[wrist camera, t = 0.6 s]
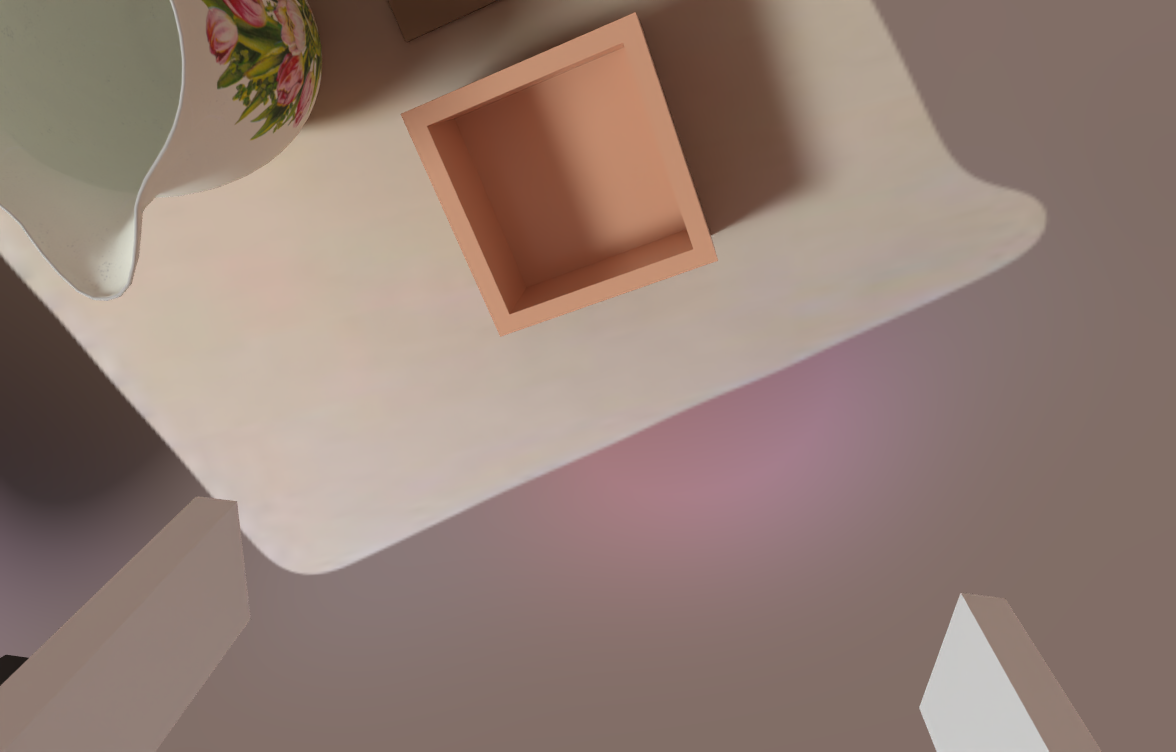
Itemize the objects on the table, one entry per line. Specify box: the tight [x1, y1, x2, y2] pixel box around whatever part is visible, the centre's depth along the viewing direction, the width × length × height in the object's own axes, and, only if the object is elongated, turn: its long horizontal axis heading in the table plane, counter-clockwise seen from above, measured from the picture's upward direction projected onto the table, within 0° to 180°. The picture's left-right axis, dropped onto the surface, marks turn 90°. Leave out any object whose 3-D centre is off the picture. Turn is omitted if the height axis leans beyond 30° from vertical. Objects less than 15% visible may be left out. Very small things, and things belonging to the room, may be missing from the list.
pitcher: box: [0, 0, 322, 301], centre depth 28 cm, size 11×18×14 cm, turn 9°
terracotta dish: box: [401, 12, 718, 337], centre depth 33 cm, size 10×10×5 cm
